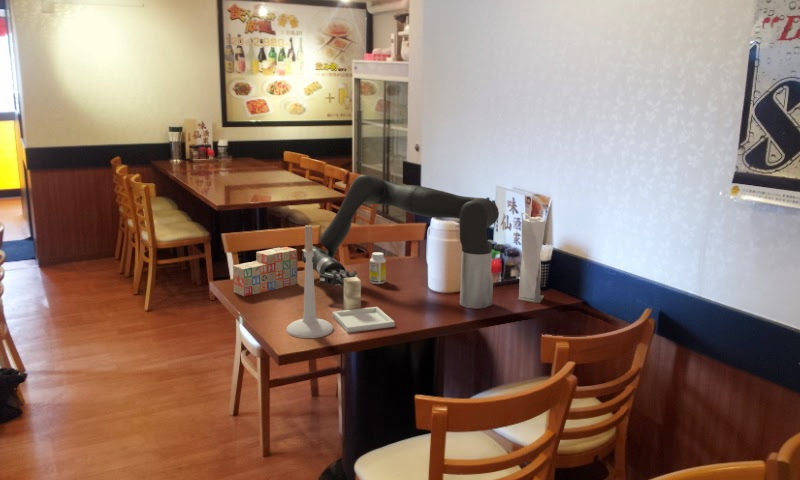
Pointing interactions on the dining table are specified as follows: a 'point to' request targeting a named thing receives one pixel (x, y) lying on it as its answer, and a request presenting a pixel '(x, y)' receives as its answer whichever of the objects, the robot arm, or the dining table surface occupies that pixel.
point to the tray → (363, 319)
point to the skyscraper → (531, 259)
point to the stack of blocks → (266, 271)
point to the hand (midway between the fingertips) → (347, 284)
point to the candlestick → (309, 300)
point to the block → (352, 293)
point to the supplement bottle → (377, 268)
